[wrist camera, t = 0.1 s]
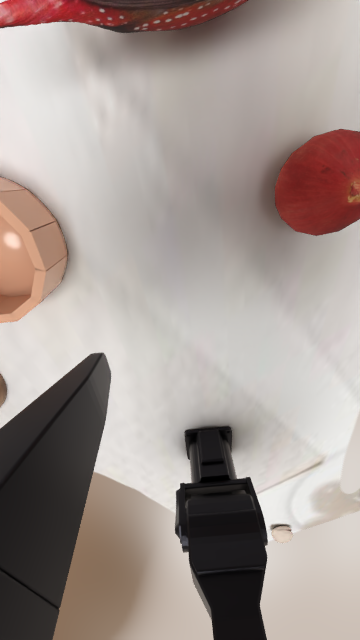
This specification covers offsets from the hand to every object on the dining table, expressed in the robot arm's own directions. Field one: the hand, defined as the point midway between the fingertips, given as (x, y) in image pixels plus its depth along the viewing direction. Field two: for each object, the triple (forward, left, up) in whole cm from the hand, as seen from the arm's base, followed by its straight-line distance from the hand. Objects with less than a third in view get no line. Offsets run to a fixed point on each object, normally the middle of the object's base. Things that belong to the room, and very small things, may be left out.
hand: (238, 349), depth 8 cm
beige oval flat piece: (-61, -14, -15) cm, 65 cm away
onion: (+4, -8, -15) cm, 17 cm away
